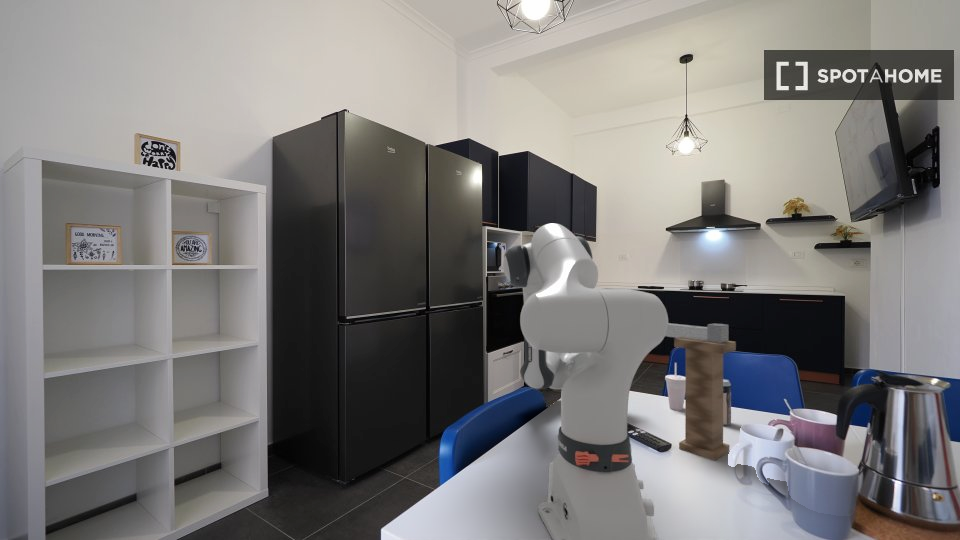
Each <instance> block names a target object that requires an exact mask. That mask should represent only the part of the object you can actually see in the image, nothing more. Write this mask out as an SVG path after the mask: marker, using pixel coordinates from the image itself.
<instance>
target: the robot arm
mask: <svg viewBox="0 0 960 540" xmlns="http://www.w3.org/2000/svg"><path fill="white" fill-rule="evenodd" d="M502 269H503V272H504V275H505V277H506V279H507V281H508V282H509V284H510V285H512V286H513V287H515V288H522V295H523V305H522V308H521V312H520V315H519V316H520V317H519V318H520V319H519V321H520V322H519V323H520V324H519V325H520V330H521V332H522V335H523V339H524V341H523V342H524V343H523V344H524V346H523V347H524V348H523V349H524V361H523V364H522V367H520V370H519V374H520V377H521V379H522V380H523V382H524V384H526V386H527V387H529V388H530V389H533V390H545V389H548V388H549V389H552V390H561V391H560V392H561V393H560V395H561V396H560V407H561V408H560V426H559V428H558V435H557V443H558V445H557V448H558V454H557V455H556V457H555V458H553V459H552V460H551V462H550V463H549V470H548V489H547V490H548V491H547V493H548V495H547V500H546V501H543V502H541V503H540V504H538V515H539V517H540V518H541V520H542V522H543V523H544V526H545V528H546V529H547V531H548V533H549V536H550V537H551V539H552V540H659V539H658V537H657V533H656V530H655V527H654V524H653V521H652V520H653V519H652V518H651V517H654V514H655V507H654V502H653V500H652V499H648V498H643V496H642V494H641V493H642V492H641V490H644V480H642V479H638V476H637V474H636V473H637V472H636V470H635V469H636V468H635V467H636V464H635V463H634V462H633V456H632V444H631V439H630V435H629V433H628V410H629V397H630V391H631V386H632V383H633V379H634V377H635V375H636V373H637V370H638V368H639V367H640V365H641V363H643V361H644V359H645V358H646V357H647V355H648V354H649V353H650V352H651V351H652V350H653V349H655V348H656V347H657V346H658V345H660V344H661V343H662V341H664V338H665V337H666V336H665V335H666V332H667V329H668V323H669V317H668V316H669V315H668V312H667V308H666V307H665V305H664V304H663V302H662V301H661V299H660V298H659V297H658V295H657V296H656V294H653V293H649V292H646V291H642V290H641V291H640V290H636V289H632V288H631V289H630V288H596V286H597V284H598V280H599V272H598V266H597V265H596V263H595V261H594V260H593V252H592V249H591V246H590V244H589V242H588V241H587V240H586V239H585V238H584V237H582V236H578V235H577V236H576V235H575V234H574V233H573V232H572V231H570V229H569V228H567V227H566V226H564V225H563V224H560V223H553V222H552V223H546V224H544V225H541V226H540V227H539V228H537V230H536V231H535V232H534V233H533V235H532V237H531V242H528V243H525V244H521V245H520V244H517V245H514V246H512V247H511V248H509V249H508V250H507V251H506V252H505V253H504V258H503V261H502Z"/></svg>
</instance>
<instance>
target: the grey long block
mask: <svg viewBox="0 0 960 540" xmlns="http://www.w3.org/2000/svg"><path fill="white" fill-rule="evenodd" d="M729 329H730V328H729V324H727V323H726V324H724V323H714V322H713V323H709V324H707V326H700V325H690V324H682V323H681V324H679V323H670V322H668V329H667V332H666V335H665V337H668V338H674V339H675V338H683V339H691V340H699V341H707V342H712V343H720V344H722V343H726V342H729V341H730V340H729Z"/></svg>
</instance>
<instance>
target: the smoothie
mask: <svg viewBox="0 0 960 540" xmlns="http://www.w3.org/2000/svg"><path fill="white" fill-rule="evenodd" d="M677 364H678V363H677V362H674V374H667V375H665V377H664V379H665V382H666V389H667V397H668V403H669V409H671V410H673V411H679V412H680V411H683V409H684V403H685V394H686V376H685V375H684V376H683V375H679V374H678V375H677V370H678V369H677V368H678V365H677Z"/></svg>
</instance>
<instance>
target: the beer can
mask: <svg viewBox="0 0 960 540" xmlns="http://www.w3.org/2000/svg"><path fill="white" fill-rule="evenodd" d="M730 424H732V384H731V382H730V380H729V379H724V378H723V426H728V425H730Z"/></svg>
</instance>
